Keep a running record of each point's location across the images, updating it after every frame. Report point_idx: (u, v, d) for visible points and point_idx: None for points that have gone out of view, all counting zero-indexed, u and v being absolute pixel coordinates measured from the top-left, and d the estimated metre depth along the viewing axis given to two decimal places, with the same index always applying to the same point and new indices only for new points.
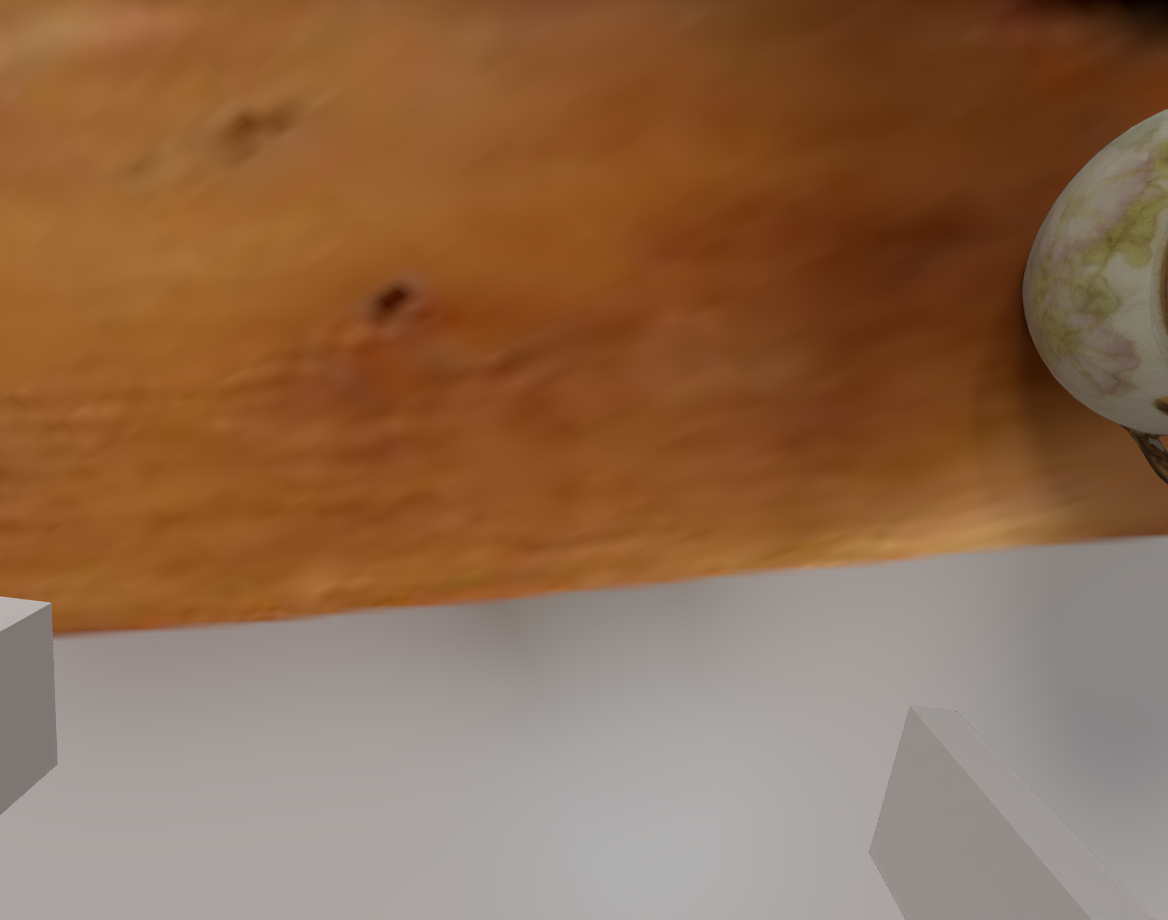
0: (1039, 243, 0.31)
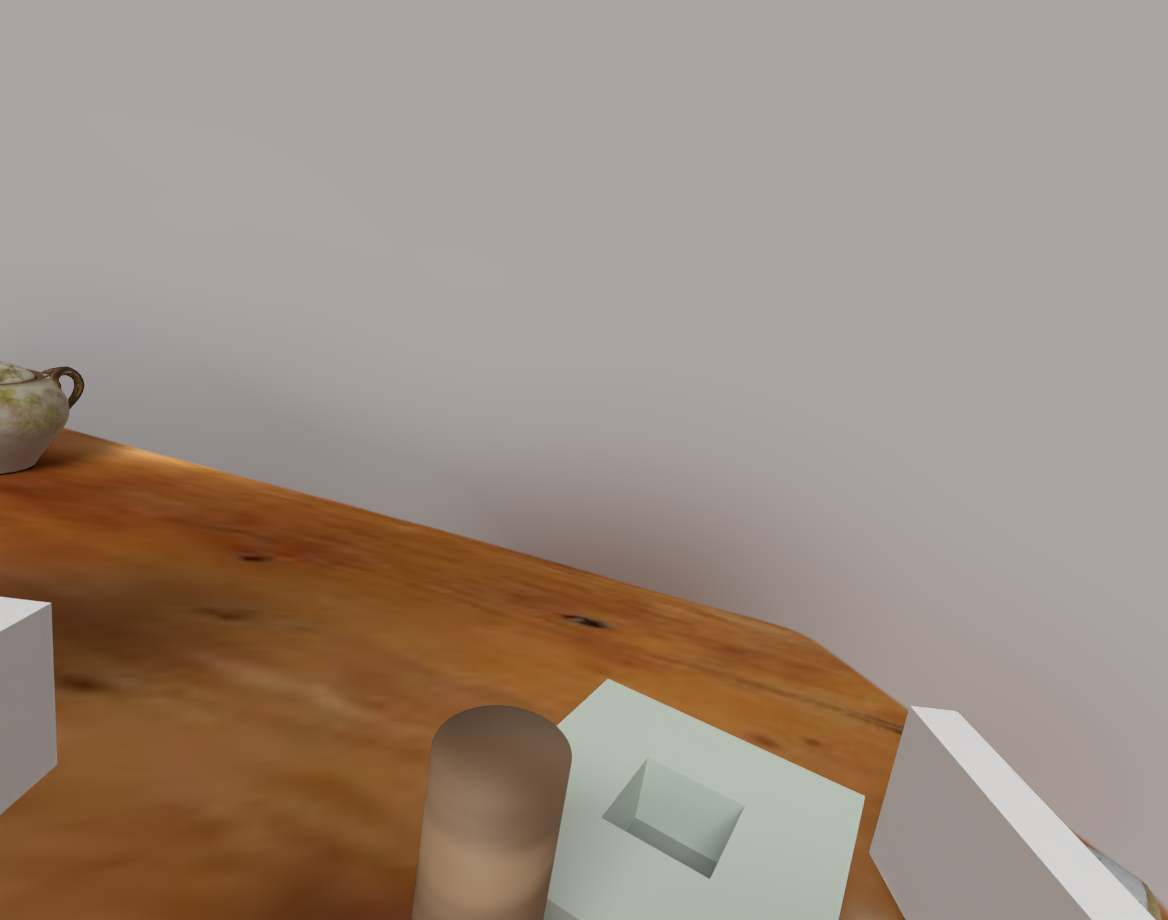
0: (10, 434, 0.69)
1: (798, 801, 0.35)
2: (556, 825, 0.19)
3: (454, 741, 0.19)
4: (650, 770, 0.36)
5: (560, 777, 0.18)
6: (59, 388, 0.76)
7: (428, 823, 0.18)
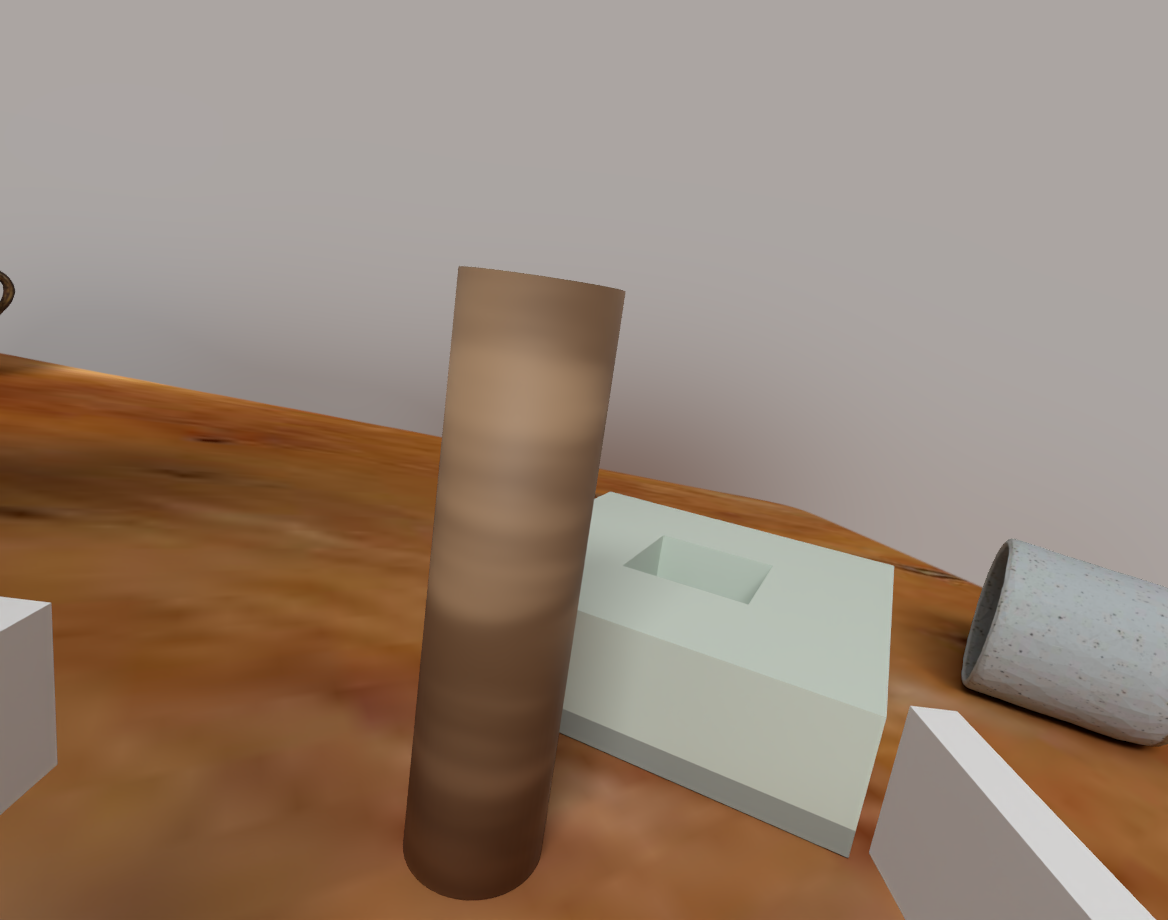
0: None
1: (827, 566, 0.32)
2: (611, 359, 0.16)
3: None
4: (666, 549, 0.34)
5: (616, 289, 0.15)
6: None
7: (458, 351, 0.15)
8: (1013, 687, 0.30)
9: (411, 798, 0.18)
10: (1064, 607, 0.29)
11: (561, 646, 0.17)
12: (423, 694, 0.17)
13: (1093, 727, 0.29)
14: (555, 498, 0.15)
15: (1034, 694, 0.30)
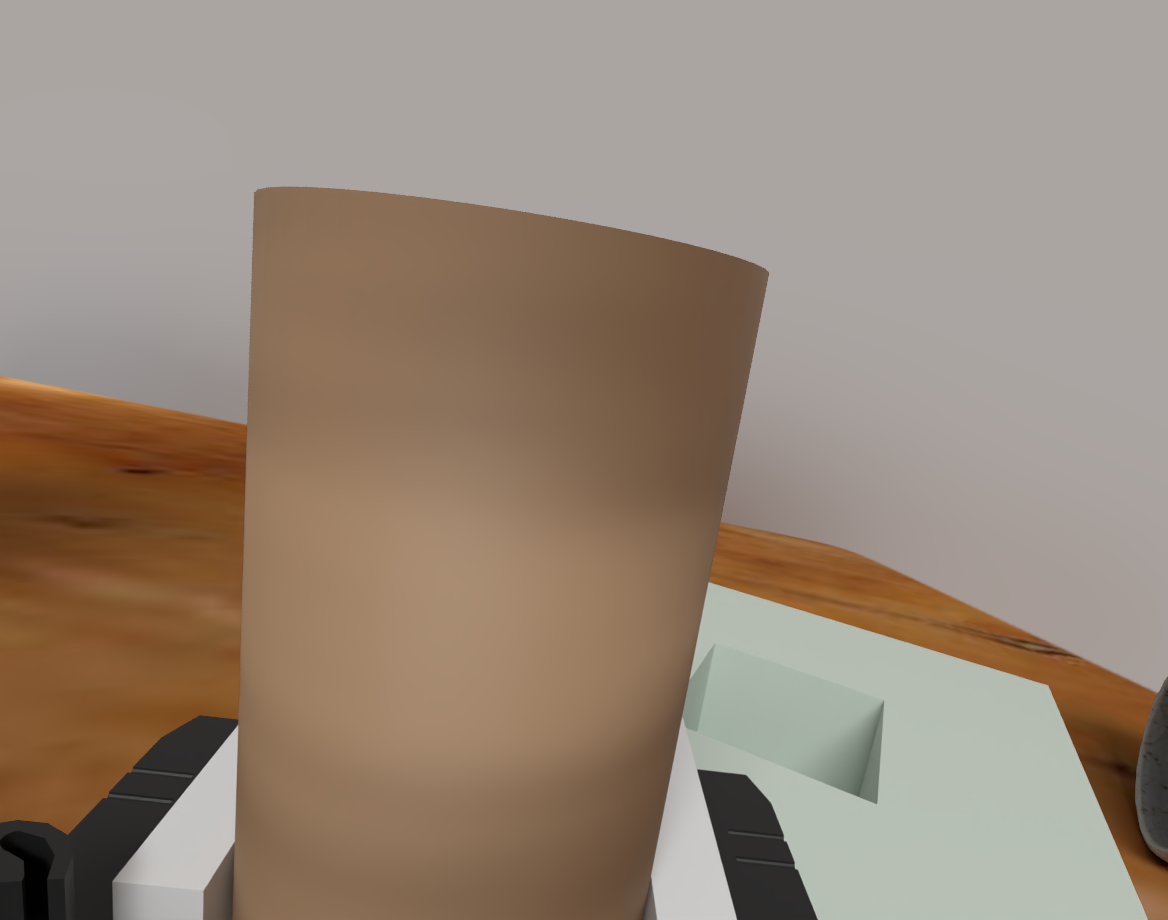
0: None
1: (959, 693, 0.22)
2: (726, 480, 0.05)
3: None
4: (719, 663, 0.23)
5: (752, 268, 0.05)
6: None
7: (249, 467, 0.05)
8: None
9: None
10: None
11: None
12: None
13: None
14: None
15: None
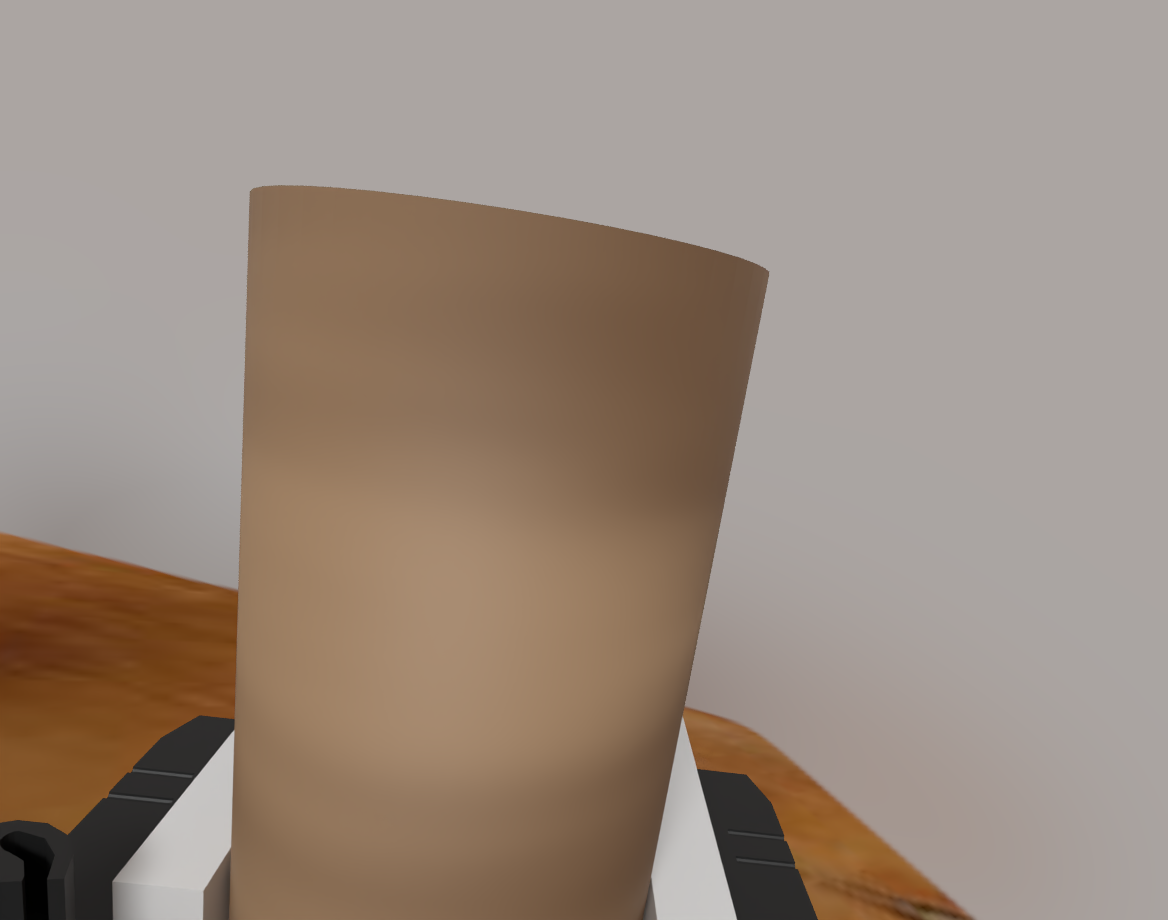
0: None
1: None
2: (726, 482, 0.05)
3: None
4: None
5: (752, 269, 0.05)
6: None
7: (245, 469, 0.05)
8: None
9: None
10: None
11: None
12: None
13: None
14: None
15: None
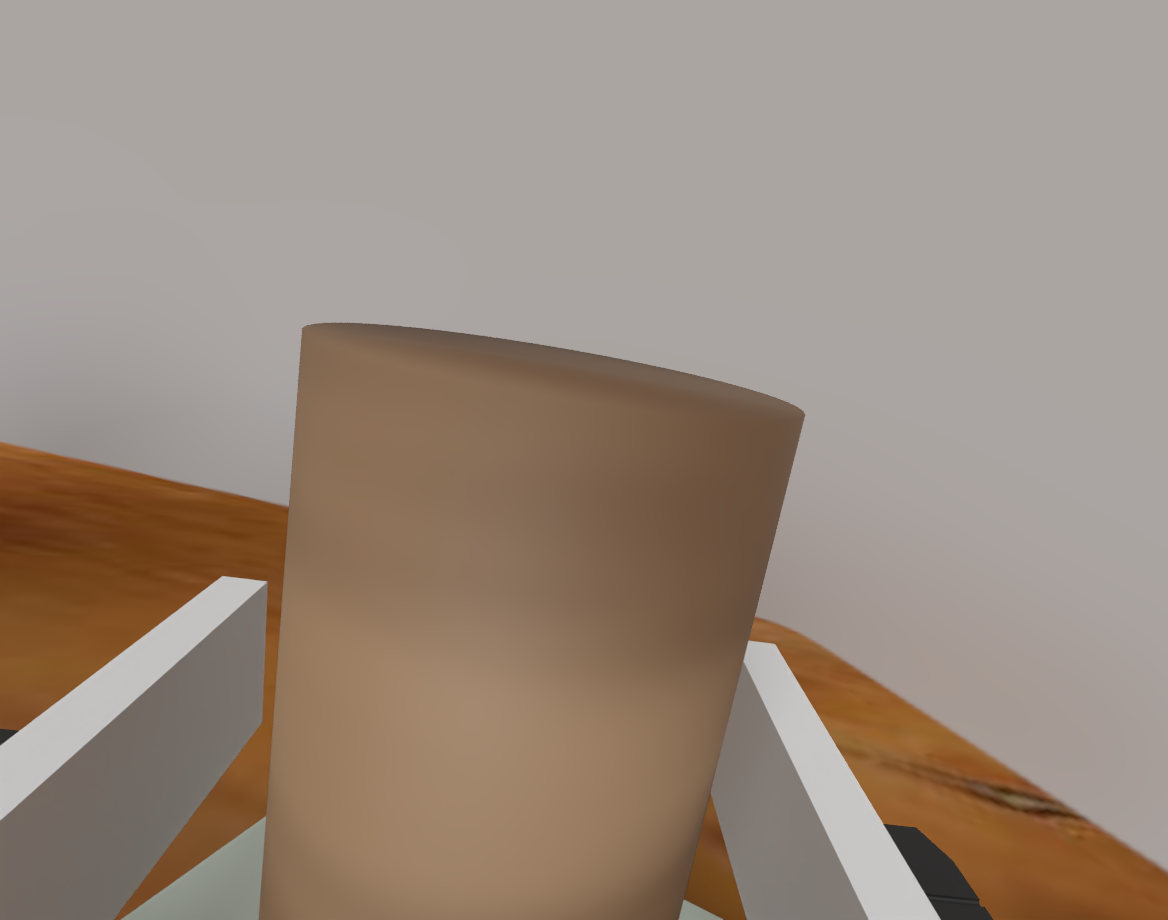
0: None
1: None
2: (755, 610, 0.05)
3: (391, 336, 0.05)
4: None
5: (788, 412, 0.05)
6: None
7: (288, 598, 0.05)
8: None
9: None
10: None
11: None
12: None
13: None
14: None
15: None
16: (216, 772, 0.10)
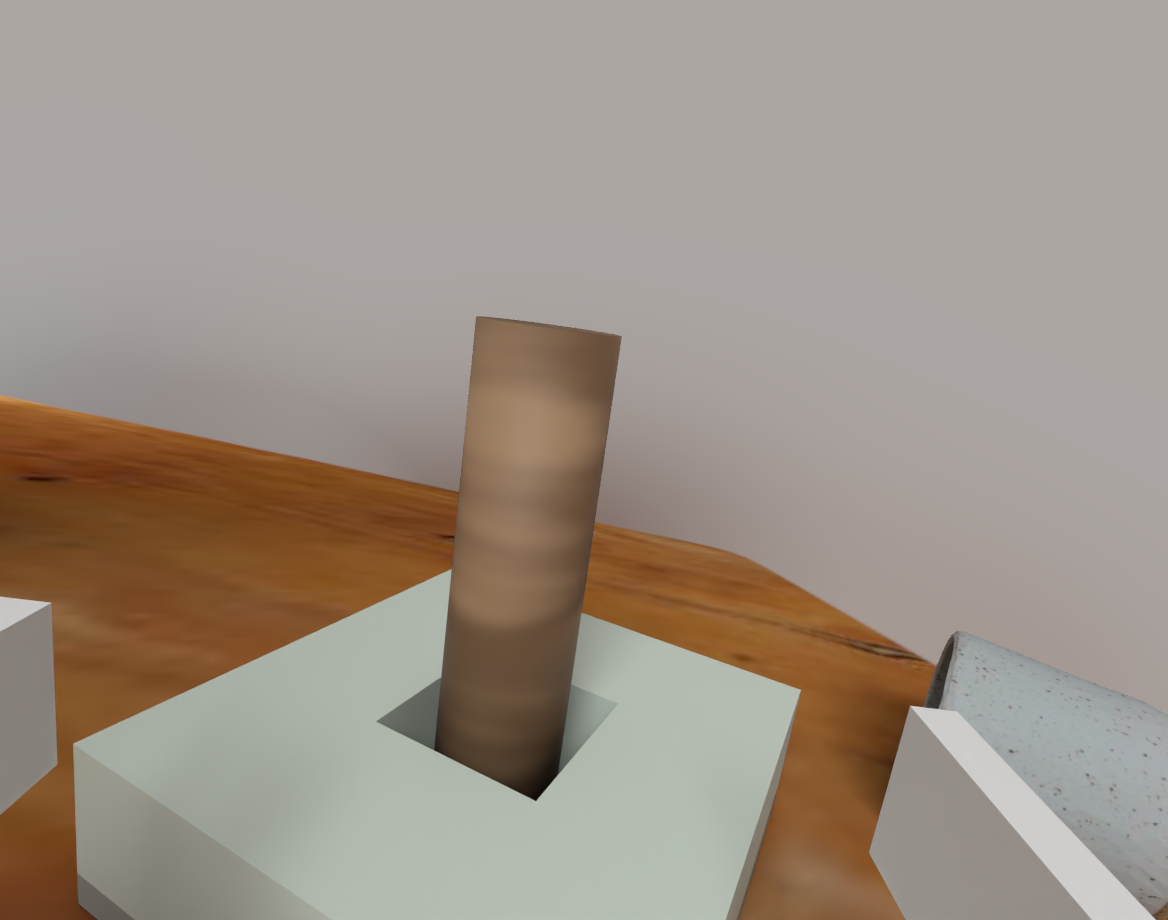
0: None
1: (701, 697, 0.23)
2: (609, 396, 0.18)
3: (498, 319, 0.18)
4: None
5: (613, 336, 0.18)
6: None
7: (476, 391, 0.17)
8: None
9: None
10: (1017, 737, 0.22)
11: (567, 647, 0.19)
12: (445, 689, 0.19)
13: None
14: (561, 518, 0.18)
15: None
16: None
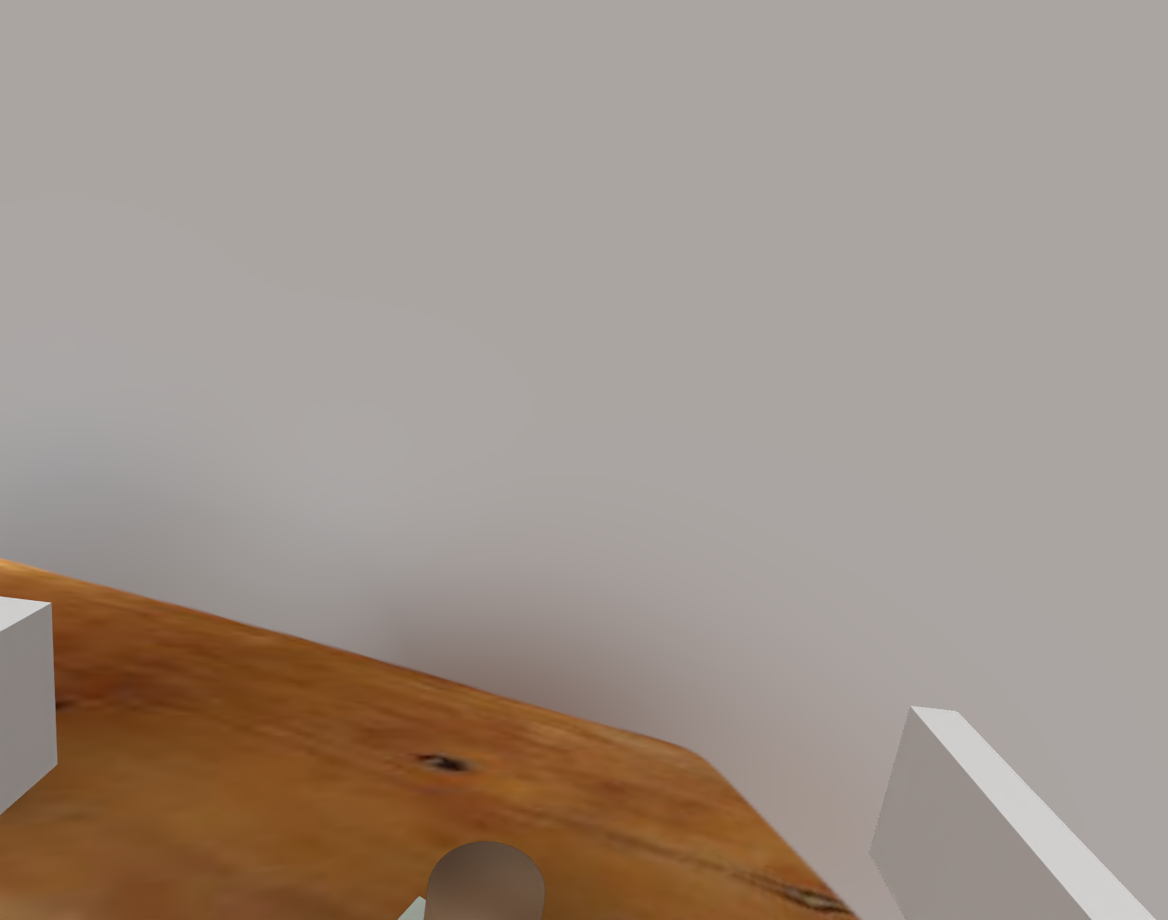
0: None
1: None
2: None
3: (446, 884, 0.22)
4: None
5: (536, 912, 0.22)
6: None
7: None
8: None
9: None
10: None
11: None
12: None
13: None
14: None
15: None
16: None
